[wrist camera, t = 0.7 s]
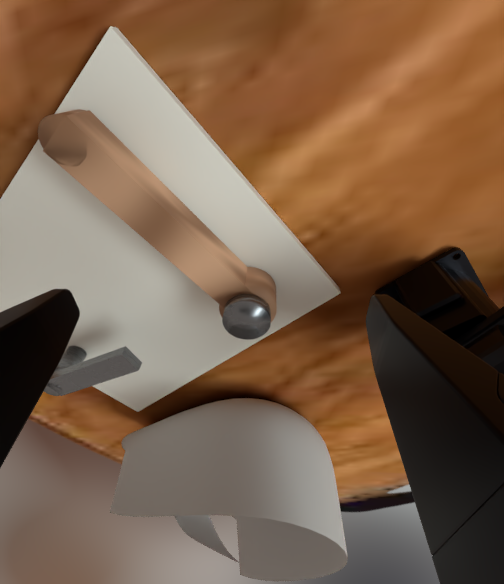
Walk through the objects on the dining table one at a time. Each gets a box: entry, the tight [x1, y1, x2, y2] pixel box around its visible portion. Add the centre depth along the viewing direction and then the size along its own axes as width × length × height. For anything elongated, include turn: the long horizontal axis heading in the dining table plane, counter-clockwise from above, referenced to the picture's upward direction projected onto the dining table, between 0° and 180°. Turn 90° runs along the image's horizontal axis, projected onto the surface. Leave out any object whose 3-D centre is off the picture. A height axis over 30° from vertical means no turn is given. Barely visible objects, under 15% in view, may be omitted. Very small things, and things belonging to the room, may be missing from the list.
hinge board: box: [0, 26, 341, 412], centre depth 25 cm, size 21×26×1 cm
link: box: [38, 109, 277, 322], centre depth 20 cm, size 17×4×2 cm, turn 41°
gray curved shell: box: [110, 398, 348, 581], centre depth 32 cm, size 20×19×12 cm
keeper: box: [44, 294, 271, 396], centre depth 24 cm, size 3×21×4 cm, turn 115°
